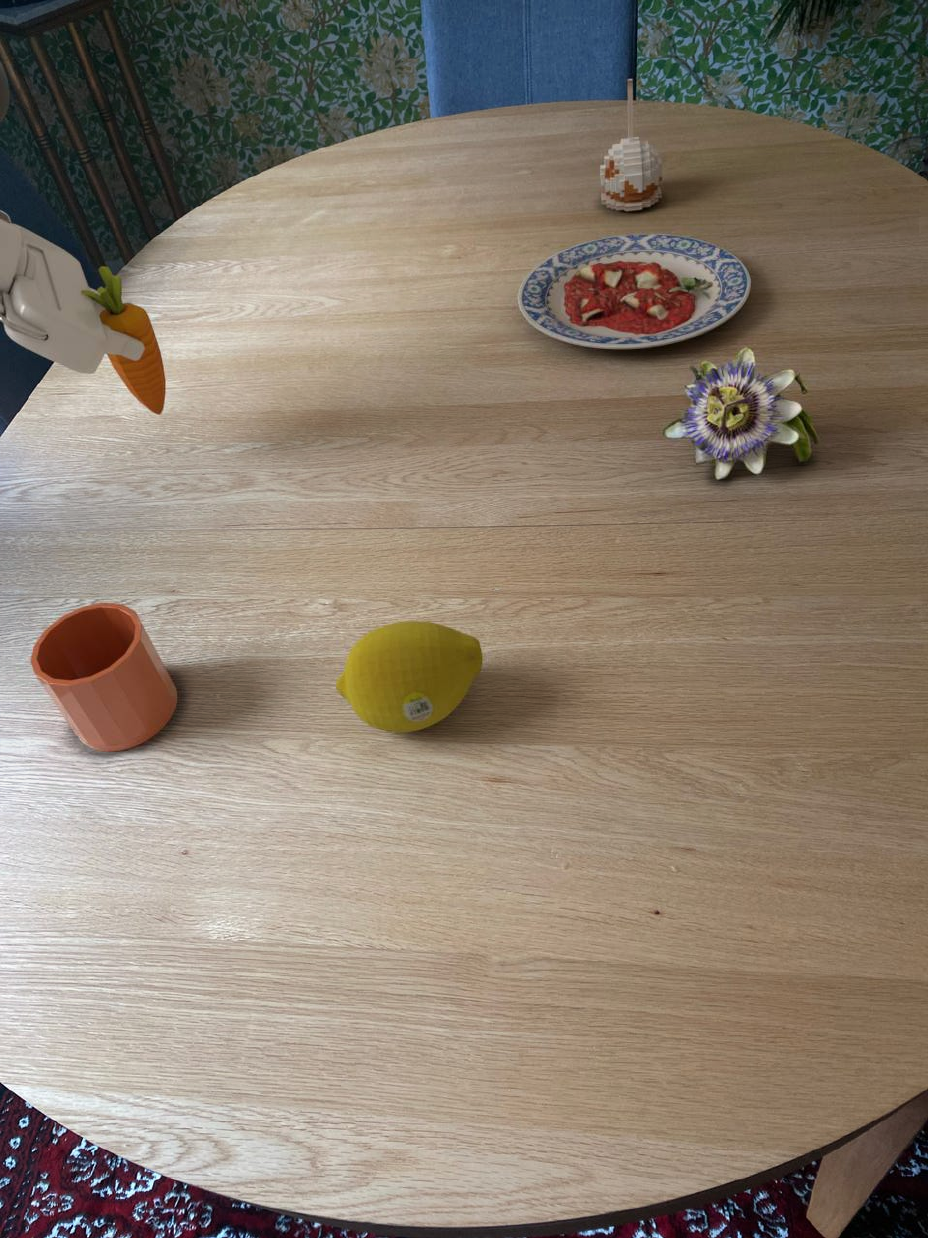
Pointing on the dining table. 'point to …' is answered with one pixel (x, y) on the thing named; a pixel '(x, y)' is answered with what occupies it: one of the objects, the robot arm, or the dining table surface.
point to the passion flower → (742, 415)
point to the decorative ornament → (631, 170)
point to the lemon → (409, 674)
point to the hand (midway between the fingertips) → (135, 336)
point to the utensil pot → (105, 676)
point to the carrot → (126, 317)
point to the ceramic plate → (634, 291)
